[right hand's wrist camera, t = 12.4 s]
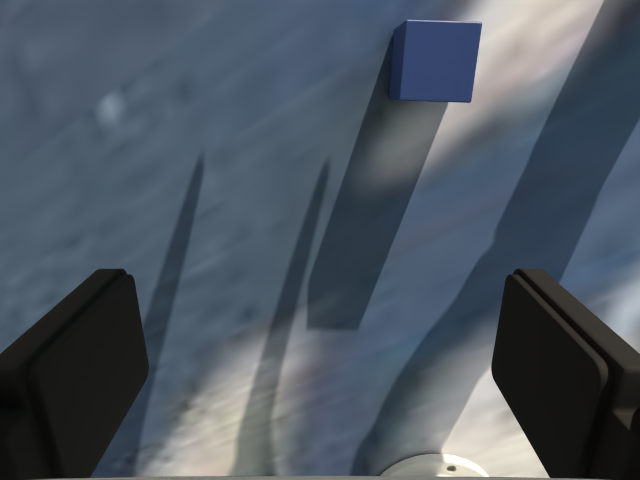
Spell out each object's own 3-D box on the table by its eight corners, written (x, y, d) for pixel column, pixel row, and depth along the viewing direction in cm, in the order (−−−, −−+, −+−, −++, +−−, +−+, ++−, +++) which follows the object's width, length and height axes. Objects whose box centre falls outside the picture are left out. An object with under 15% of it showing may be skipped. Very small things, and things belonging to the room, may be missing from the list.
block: (393, 29, 29) (406, 19, 24) (458, 31, 29) (482, 21, 24) (388, 98, 30) (399, 100, 26) (450, 100, 30) (471, 102, 26)
